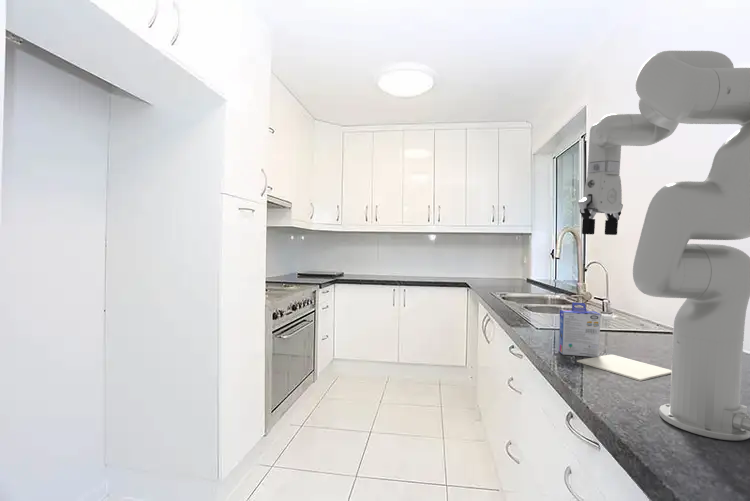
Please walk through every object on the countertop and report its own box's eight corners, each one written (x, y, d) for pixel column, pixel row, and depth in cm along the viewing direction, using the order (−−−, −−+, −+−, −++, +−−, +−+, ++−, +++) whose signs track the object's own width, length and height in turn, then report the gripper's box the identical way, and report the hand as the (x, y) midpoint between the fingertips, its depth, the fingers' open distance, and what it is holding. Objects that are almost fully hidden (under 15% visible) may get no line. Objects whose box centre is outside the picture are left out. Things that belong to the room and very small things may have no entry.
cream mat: (674, 372, 101) (674, 371, 101) (639, 381, 94) (640, 379, 94) (611, 355, 115) (611, 354, 115) (577, 361, 108) (577, 360, 108)
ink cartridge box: (593, 352, 117) (595, 303, 117) (600, 358, 112) (602, 306, 112) (557, 350, 119) (559, 301, 119) (562, 355, 114) (564, 303, 114)
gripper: (596, 165, 101) (592, 234, 102) (636, 171, 109) (632, 235, 110) (569, 169, 107) (565, 233, 108) (609, 174, 115) (605, 234, 116)
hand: (599, 234), depth 109 cm, fingers open, 9 cm apart
